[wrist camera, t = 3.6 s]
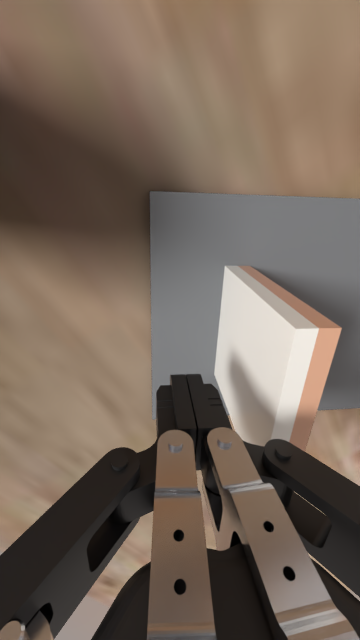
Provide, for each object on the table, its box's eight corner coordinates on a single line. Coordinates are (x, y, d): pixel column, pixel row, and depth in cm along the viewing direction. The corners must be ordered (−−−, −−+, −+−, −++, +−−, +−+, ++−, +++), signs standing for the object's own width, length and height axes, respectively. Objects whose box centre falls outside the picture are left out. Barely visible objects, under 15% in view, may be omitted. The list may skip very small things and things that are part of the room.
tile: (224, 265, 19) (295, 328, 10) (250, 265, 19) (341, 327, 10) (214, 374, 23) (259, 492, 14) (235, 373, 23) (293, 489, 14)
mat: (149, 191, 17) (149, 191, 17) (460, 202, 20) (468, 202, 19) (152, 414, 24) (152, 419, 24) (378, 402, 27) (383, 406, 26)
